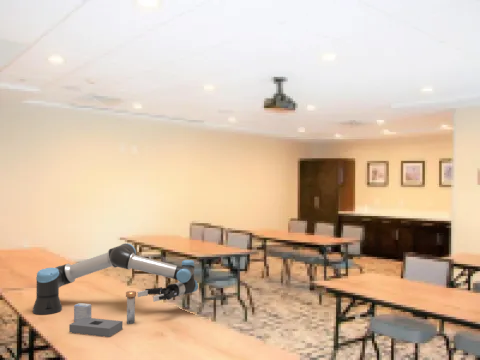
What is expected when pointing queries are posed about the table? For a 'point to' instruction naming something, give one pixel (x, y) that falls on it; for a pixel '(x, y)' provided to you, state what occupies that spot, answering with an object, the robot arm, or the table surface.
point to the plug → (130, 307)
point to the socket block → (96, 327)
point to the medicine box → (82, 311)
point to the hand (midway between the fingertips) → (145, 296)
